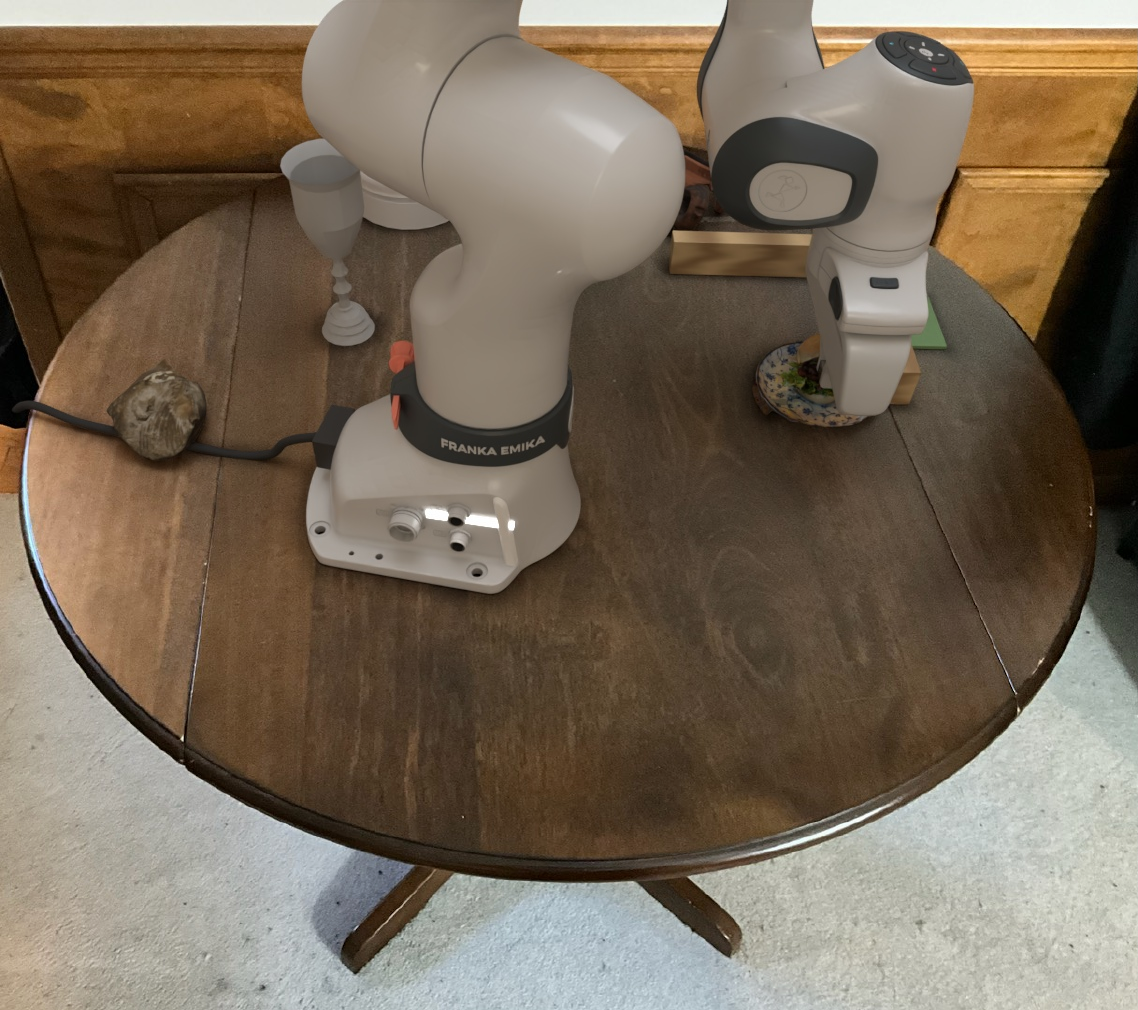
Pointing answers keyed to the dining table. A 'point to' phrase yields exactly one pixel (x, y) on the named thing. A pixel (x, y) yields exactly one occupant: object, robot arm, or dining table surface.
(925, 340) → the green flat rectangular block
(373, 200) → the honey pot
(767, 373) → the burger
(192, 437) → the fossilized seashell
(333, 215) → the chalice
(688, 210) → the pottery mug
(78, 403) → the dining table surface
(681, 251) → the corner fence
